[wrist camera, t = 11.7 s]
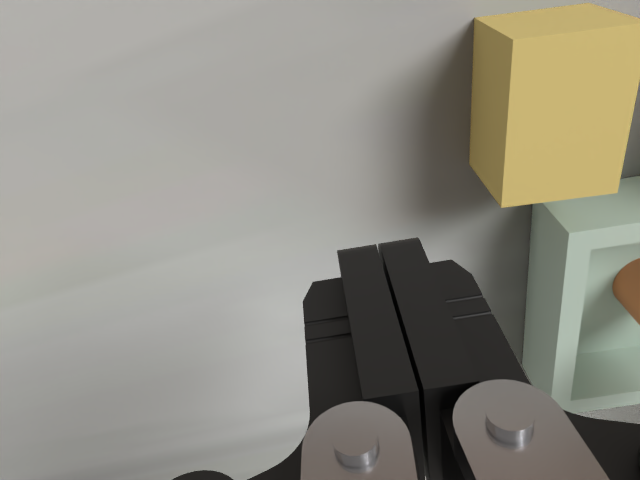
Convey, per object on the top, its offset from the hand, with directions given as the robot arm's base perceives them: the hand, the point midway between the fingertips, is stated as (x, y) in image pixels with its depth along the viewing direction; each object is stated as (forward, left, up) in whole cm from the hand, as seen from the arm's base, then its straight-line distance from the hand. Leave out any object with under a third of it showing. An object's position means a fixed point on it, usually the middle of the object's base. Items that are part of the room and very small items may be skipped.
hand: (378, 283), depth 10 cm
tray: (-11, +9, -10) cm, 17 cm away
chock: (-6, 0, -10) cm, 12 cm away
